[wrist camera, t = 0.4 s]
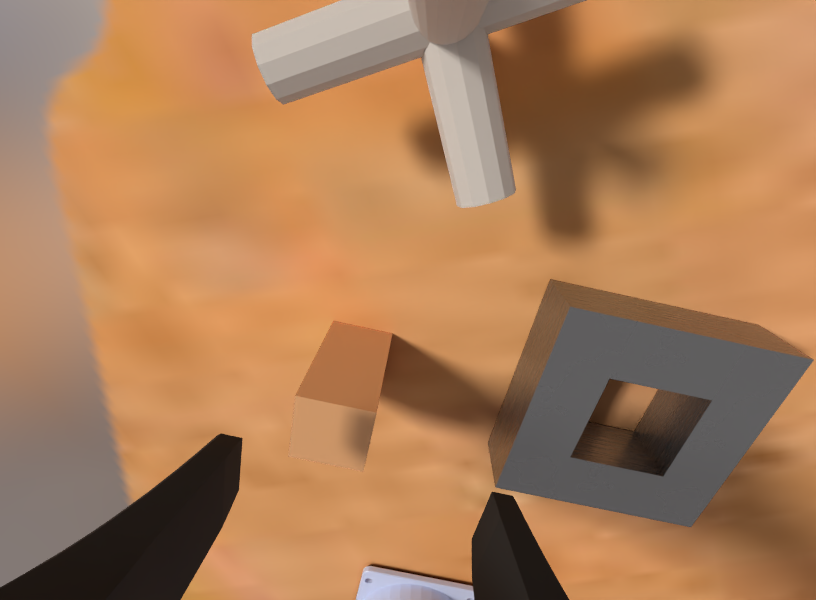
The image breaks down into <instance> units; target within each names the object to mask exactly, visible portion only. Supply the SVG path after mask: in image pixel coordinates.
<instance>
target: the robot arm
mask: <svg viewBox="0 0 816 600" xmlns="http://www.w3.org/2000/svg"><path fill="white" fill-rule="evenodd" d="M241 451H242V438H239V437H234V436H230V435H225V434H219V435H217V436H216V437H215V438H214V439H213V440H211V441H210V442H209V443H208V444H207V445H206V446H204V447H203V448H202V449H201V450H200V451H199V452H197V453H196V454H195V455H194V456H193V457H192V458H190V459H189V460H188V461H187V462H185V463H184V464H183V465H182V466H181V467H179V468H178V469H177V470H176V471H174V472H173V473H172V474H171V475H169V476H168V477H167V478H166V479H164V480H163V481H162V482H160V483H159V484H158V485H157V486H155V487H154V488H153V489H151V490H150V491H149V492H148V493H146V494H145V495H144V496H142V497H141V498H140V499H138V500H137V501H135V502H134V503H133V504H131V505H130V506H129V507H127V508H126V509H124V510H123V511H121V512H120V513H119V514H117V515H116V516H115V517H113V518H112V519H111V520H109V521H107V522H106V523H105V524H103V525H102V526H100V527H99V528H97V529H96V530H94V531H93V532H91V533H90V534H88V535H87V536H85V537H84V538H82V539H80V540H79V541H77V542H76V543H74V544H73V545H71V546H69V547H68V548H66V549H65V550H63V551H62V552H60V553H58V554H57V555H55V556H53V557H52V558H50V559H48V560H47V561H45V562H43V563H42V564H40V565H38V566H36V567H35V568H33V569H31V570H30V571H28V572H26V573H25V574H23V575H21V576H20V577H18V578H16V579H14V580H13V581H11V582H9V583H7V584H6V585H4V586H2V587H0V600H181V598H182V596H183V594H184V593H185V591H186V589H187V587H188V586H189V584H190V582H191V581H192V579H193V577H194V575H195V574H196V572H197V570H198V569H199V567H200V565H201V563H202V562H203V560H204V558H205V556H206V555H207V553H208V551H209V549H210V548H211V546H212V544H213V542H214V541H215V539H216V537H217V535H218V534H219V532H220V530H221V528H222V526H223V524H224V522H225V520H226V518H227V515H228V513H229V511H230V509H231V507H232V504H233V502H234V500H235V497H236V495H237V493H238V491H239V480H240V465H241ZM472 583H473V586H471V585H466V584H460V583H455V582H450V581H445V580H440V579H435V578H430V577H425V576H420V575H415V574H410V573H405V572H399V571H394V570H389V569H384V568H379V567H374V566H367V567H365V568H364V569H363V573H362V577H361V581H360V585H359V589H358V592H357V596H356V600H569V598H568V597H567V595H566V593H565V592H564V590H563V588H562V587H561V585H560V583H559V581H558V580H557V578H556V576H555V574H554V572H553V571H552V569H551V567H550V565H549V564H548V562H547V560H546V558H545V556H544V555H543V553H542V551H541V549H540V547H539V545H538V543H537V541H536V540H535V538H534V536H533V534H532V532H531V530H530V528H529V526H528V524H527V522H526V520H525V518H524V516H523V514H522V512H521V510H520V508H519V506H518V505H517V503H516V501H515V499H514V497H513V496H510V495H505V494H501V493H496V492H492V493H491V495H490V498H489V500H488V502H487V505H486V507H485V509H484V512H483V514H482V516H481V519H480V521H479V523H478V526H477V528H476V530H475V533H474V535H473V537H472Z"/></svg>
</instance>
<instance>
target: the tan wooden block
mask: <svg viewBox="0 0 816 600" xmlns="http://www.w3.org/2000/svg"><path fill="white" fill-rule="evenodd" d="M392 334H393V333H388V332H383V331H379V330H374V329H369V328H365V327H360V326H355V325H351V324H346V323H341V322H337V321H333V323H332V325H331V327H330V329H329V330H328V332H327V334H326V336H325V338H324V340H323V342H322V344H321V346H320V348H319V350H318V352H317V354H316V356H315V358H314V360H313V362H312V364H311V366H310V368H309V370H308V372H307V374H306V376H305V378H304V380H303V382H302V383H301V385H300V387H299V389H298V391H297V393H296V395H295V402H294V411H293V420H292V428H291V437H290V446H289V455H288V457H293V458H298V459H303V460H308V461H312V462H317V463H322V464H327V465H332V466H337V467H342V468H347V469H352V470H356V471H361V472H363V471H364V467H365V462H366V458H367V453H368V449H369V444H370V440H371V435H372V431H373V426H374V422H375V417H376V413H377V408H378V403H379V398H380V393H381V388H382V383H383V378H384V373H385V368H386V363H387V358H388V353H389V349H390V344H391V339H392Z"/></svg>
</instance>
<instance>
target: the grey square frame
mask: <svg viewBox="0 0 816 600" xmlns="http://www.w3.org/2000/svg"><path fill="white" fill-rule="evenodd" d="M812 362H813V359H812V358H810V357H809V356H807V355H805V354H804V353H802V352H801V351H799V350H797V349H796V348H794V347H793V346H791V345H790V344H788V343H786V342H785V341H783V340H782V339H780V338H778V337H777V336H775V335H774V334H772V333H770V332H769V331H767V330H766V329H764V328H763V327H761V326H759V325H756V324H752V323H747V322H742V321H738V320H733V319H729V318H724V317H720V316H715V315H711V314H706V313H702V312H697V311H692V310H688V309H683V308H679V307H674V306H670V305H665V304H661V303H656V302H652V301H647V300H642V299H638V298H633V297H629V296H624V295H620V294H615V293H611V292H606V291H602V290H597V289H592V288H588V287H583V286H579V285H574V284H570V283H565V282H561V281H556V280H552V279H550V281H549V284H548V286H547V289H546V292H545V294H544V297H543V300H542V302H541V305H540V307H539V310H538V313H537V315H536V318H535V321H534V323H533V326H532V328H531V331H530V334H529V336H528V339H527V342H526V344H525V347H524V349H523V352H522V355H521V357H520V360H519V363H518V365H517V368H516V371H515V373H514V376H513V378H512V381H511V384H510V386H509V389H508V392H507V394H506V397H505V399H504V402H503V405H502V407H501V410H500V413H499V415H498V418H497V420H496V423H495V426H494V428H493V431H492V434H491V436H490V439H489V441H488V446H489V452H490V458H491V464H492V470H493V476H494V482H495V487H496V488H501V489H506V490H511V491H516V492H521V493H526V494H531V495H536V496H541V497H545V498H550V499H555V500H560V501H565V502H570V503H575V504H580V505H585V506H589V507H594V508H599V509H604V510H609V511H614V512H619V513H624V514H629V515H634V516H638V517H643V518H648V519H653V520H658V521H663V522H668V523H673V524H678V525H683V526H687V527H691V526H692V525H693V524H694V522H695V521H696V520H697V518H698V517H699V515H700V514H701V513H702V511H703V510H704V509H705V507H706V506H707V505H708V503H709V502H710V500H711V499H712V498H713V496H714V495H715V494H716V492H717V491H718V490H719V488H720V487H721V486H722V484H723V483H724V481H725V480H726V479H727V477H728V476H729V475H730V473H731V472H732V471H733V469H734V468H735V466H736V465H737V464H738V462H739V461H740V460H741V458H742V457H743V456H744V454H745V453H746V451H747V450H748V449H749V447H750V446H751V445H752V443H753V442H754V441H755V439H756V438H757V437H758V435H759V434H760V432H761V431H762V430H763V428H764V427H765V426H766V424H767V423H768V422H769V420H770V419H771V417H772V416H773V415H774V413H775V412H776V411H777V409H778V408H779V407H780V405H781V404H782V402H783V401H784V400H785V398H786V397H787V396H788V394H789V393H790V392H791V390H792V389H793V388H794V386H795V385H796V383H797V382H798V381H799V379H800V378H801V377H802V375H803V374H804V373H805V371H806V370H807V368H808V367H809V366H810V364H811V363H812ZM609 379H614V380H619V381H624V382H628V383H633V384H638V385H642V386H647V387H652V388H656V389H658V391H657V393H656V395H655V396H654V398H653V400H652V402H651V403H650V405H649V407H648V409H647V410H646V412H645V414H644V416H643V417H642V419H641V421H640V423H639V424H638V426H637V428H636V430H635V432H633V431H629V430H624V429H619V428H614V427H610V426H605V425H600V424H595V423H591V422H588V421H589V419H590V417H591V415H592V413H593V411H594V409H595V407H596V405H597V403H598V401H599V399H600V397H601V395H602V393H603V391H604V389H605V387H606V385H607V383H608V381H609Z"/></svg>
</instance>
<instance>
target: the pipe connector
mask: <svg viewBox="0 0 816 600" xmlns="http://www.w3.org/2000/svg"><path fill="white" fill-rule="evenodd" d="M583 1H586V0H341V1H338V2H336V3H333V4H331V5H328V6H325V7H323V8H320V9H317V10H315V11H312V12H310V13H307V14H304V15H302V16H299V17H296V18H294V19H291V20H289V21H286V22H283V23H281V24H278V25H275V26H273V27H270V28H268V29H265V30H262V31H260V32H257V33H255V34H252V48H253V52H254V55H255V58H256V62H257V65H258V68H259V70H260V72H261V74H262V76H263V78H264V81H265V83H266V85H267V86H268V88H269V89H270V91H271V92H272V94H273V95H274V97H275V98H276V99H277V100H278V101H279V102H281V103H282V104H283V105H284V104H287V103H289V102H292V101H295V100H298V99H301V98H304V97H307V96H310V95H313V94H316V93H319V92H321V91H324V90H327V89H330V88H333V87H336V86H339V85H342V84H345V83H348V82H350V81H353V80H356V79H359V78H362V77H365V76H368V75H371V74H374V73H377V72H380V71H382V70H385V69H388V68H391V67H394V66H397V65H400V64H403V63H406V62H409V61H411V60H414V59H417V58H420V57H421V58H422V63H423V67H424V71H425V75H426V79H427V83H428V87H429V92H430V96H431V100H432V104H433V108H434V112H435V116H436V121H437V125H438V129H439V133H440V137H441V141H442V146H443V150H444V154H445V158H446V162H447V166H448V170H449V175H450V179H451V183H452V187H453V191H454V195H455V199H456V204H457V206H459V207H461V208H465V207H476V206H480V205H485V204H489V203H493V202H496V201H499V200H502V199H504V198H507V197H508V196H510V195H512V194H514V193H515V191H516V187H515V182H514V176H513V171H512V165H511V160H510V154H509V149H508V143H507V138H506V132H505V127H504V121H503V116H502V110H501V105H500V99H499V94H498V89H497V83H496V78H495V72H494V67H493V61H492V56H491V50H490V45H489V39H488V34H490V33H493V32H496V31H499V30H502V29H504V28H507V27H510V26H513V25H516V24H519V23H522V22H525V21H528V20H531V19H533V18H536V17H539V16H542V15H545V14H548V13H551V12H554V11H557V10H560V9H563V8H565V7H568V6H571V5H574V4H577V3H580V2H583Z"/></svg>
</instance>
